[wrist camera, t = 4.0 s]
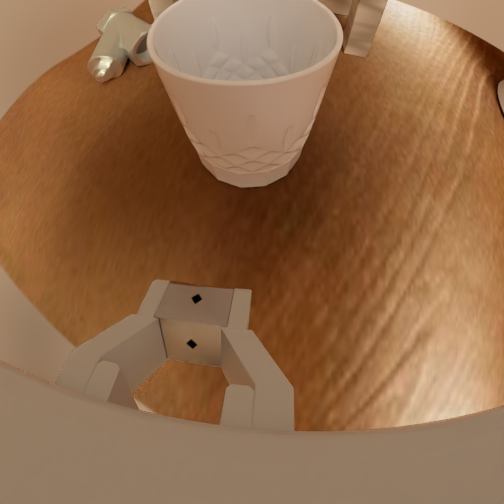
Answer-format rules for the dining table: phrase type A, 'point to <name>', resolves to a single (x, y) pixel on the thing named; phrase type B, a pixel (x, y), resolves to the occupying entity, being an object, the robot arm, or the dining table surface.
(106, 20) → the pipe fitting
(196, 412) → the dining table surface
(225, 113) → the white cup
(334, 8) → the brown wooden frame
